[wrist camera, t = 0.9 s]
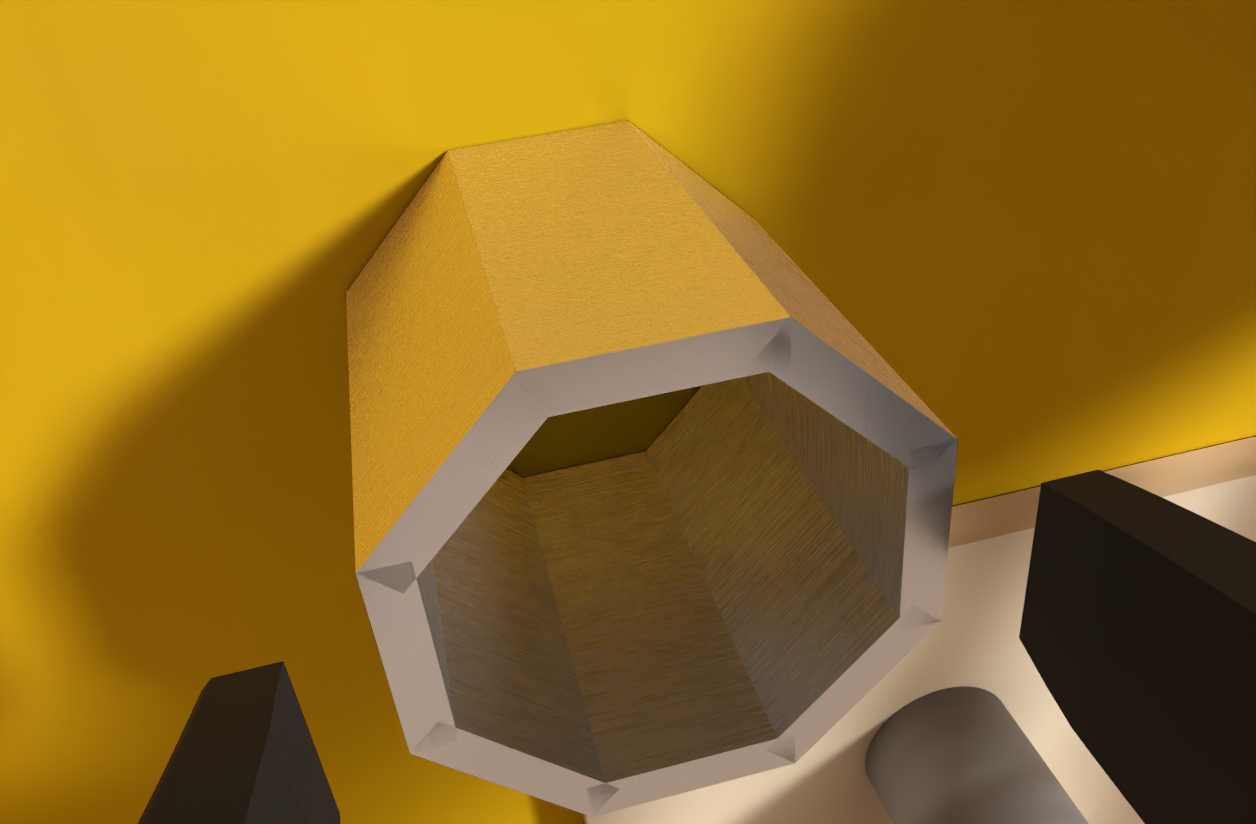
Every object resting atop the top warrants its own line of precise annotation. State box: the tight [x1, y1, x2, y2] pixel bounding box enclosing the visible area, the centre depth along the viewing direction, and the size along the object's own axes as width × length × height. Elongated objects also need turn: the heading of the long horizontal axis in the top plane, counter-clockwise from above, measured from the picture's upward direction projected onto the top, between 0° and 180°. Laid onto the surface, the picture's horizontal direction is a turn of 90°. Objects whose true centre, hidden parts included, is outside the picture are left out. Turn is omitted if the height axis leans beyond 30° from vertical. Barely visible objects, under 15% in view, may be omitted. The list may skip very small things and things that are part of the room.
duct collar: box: [346, 121, 958, 817], centre depth 13 cm, size 6×6×6 cm
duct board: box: [583, 436, 1256, 824], centre depth 20 cm, size 14×10×5 cm
